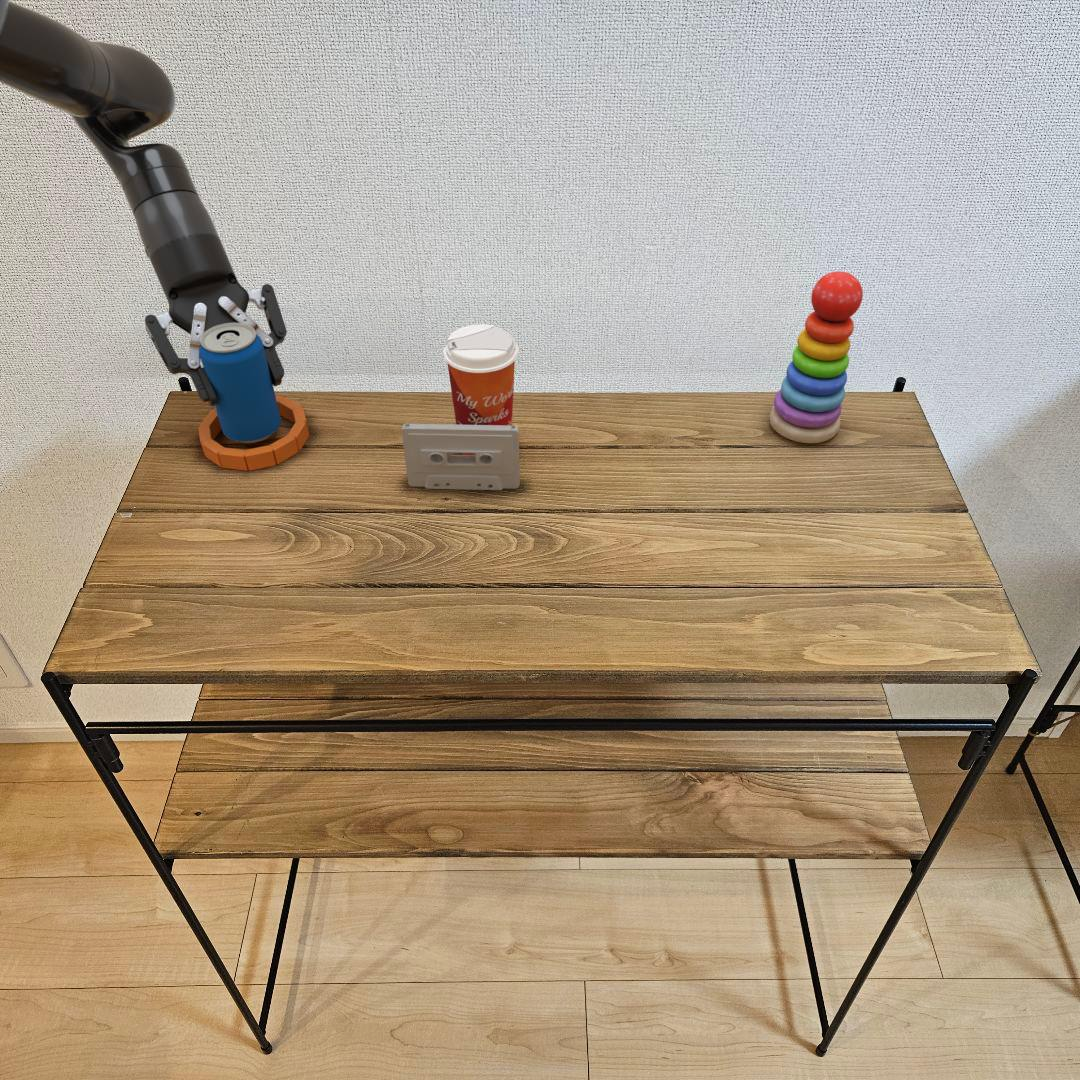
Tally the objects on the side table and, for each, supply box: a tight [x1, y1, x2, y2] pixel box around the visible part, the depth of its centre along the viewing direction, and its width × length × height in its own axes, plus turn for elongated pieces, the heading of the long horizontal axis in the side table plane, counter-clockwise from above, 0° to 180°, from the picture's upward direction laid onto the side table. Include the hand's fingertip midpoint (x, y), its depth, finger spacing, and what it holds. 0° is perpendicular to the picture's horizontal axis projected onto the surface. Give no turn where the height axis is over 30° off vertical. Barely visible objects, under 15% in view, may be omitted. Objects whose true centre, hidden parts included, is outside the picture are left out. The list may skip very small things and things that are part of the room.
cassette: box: [401, 423, 521, 491], centre depth 93 cm, size 12×2×8 cm, turn 88°
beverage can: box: [199, 323, 282, 444], centre depth 96 cm, size 6×6×12 cm
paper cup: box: [442, 323, 520, 455], centre depth 95 cm, size 8×8×14 cm
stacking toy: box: [769, 270, 864, 444], centre depth 97 cm, size 8×8×19 cm
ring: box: [197, 394, 310, 472], centre depth 100 cm, size 12×12×2 cm
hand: (246, 393), depth 95 cm, fingers closed on beverage can, 6 cm apart
